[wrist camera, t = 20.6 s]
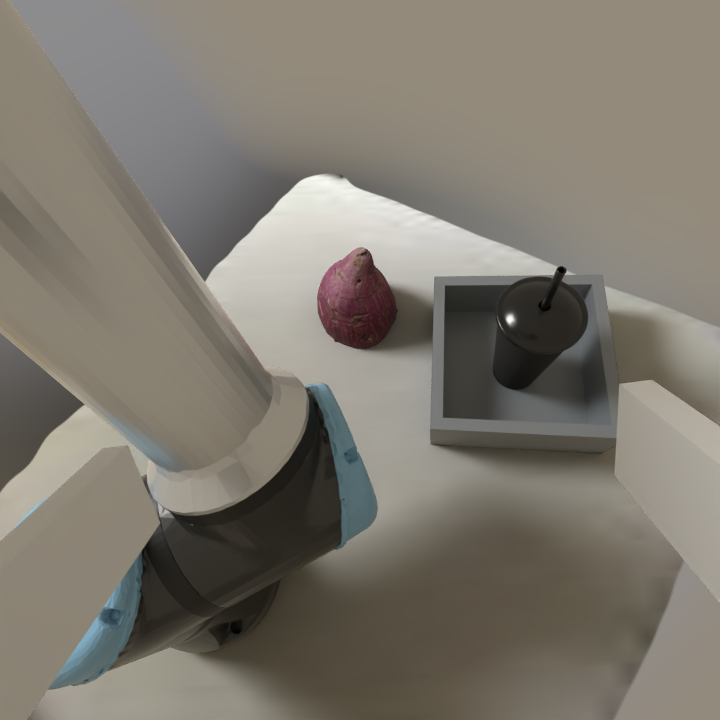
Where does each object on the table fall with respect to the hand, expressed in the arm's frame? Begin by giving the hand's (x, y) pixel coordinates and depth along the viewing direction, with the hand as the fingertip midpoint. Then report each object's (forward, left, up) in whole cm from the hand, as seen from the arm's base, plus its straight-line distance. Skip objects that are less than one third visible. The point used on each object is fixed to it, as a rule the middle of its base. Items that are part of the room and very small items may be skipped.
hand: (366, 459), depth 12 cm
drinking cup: (+11, +18, -37) cm, 42 cm away
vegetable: (-9, +26, -38) cm, 47 cm away
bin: (+10, +18, -38) cm, 43 cm away
